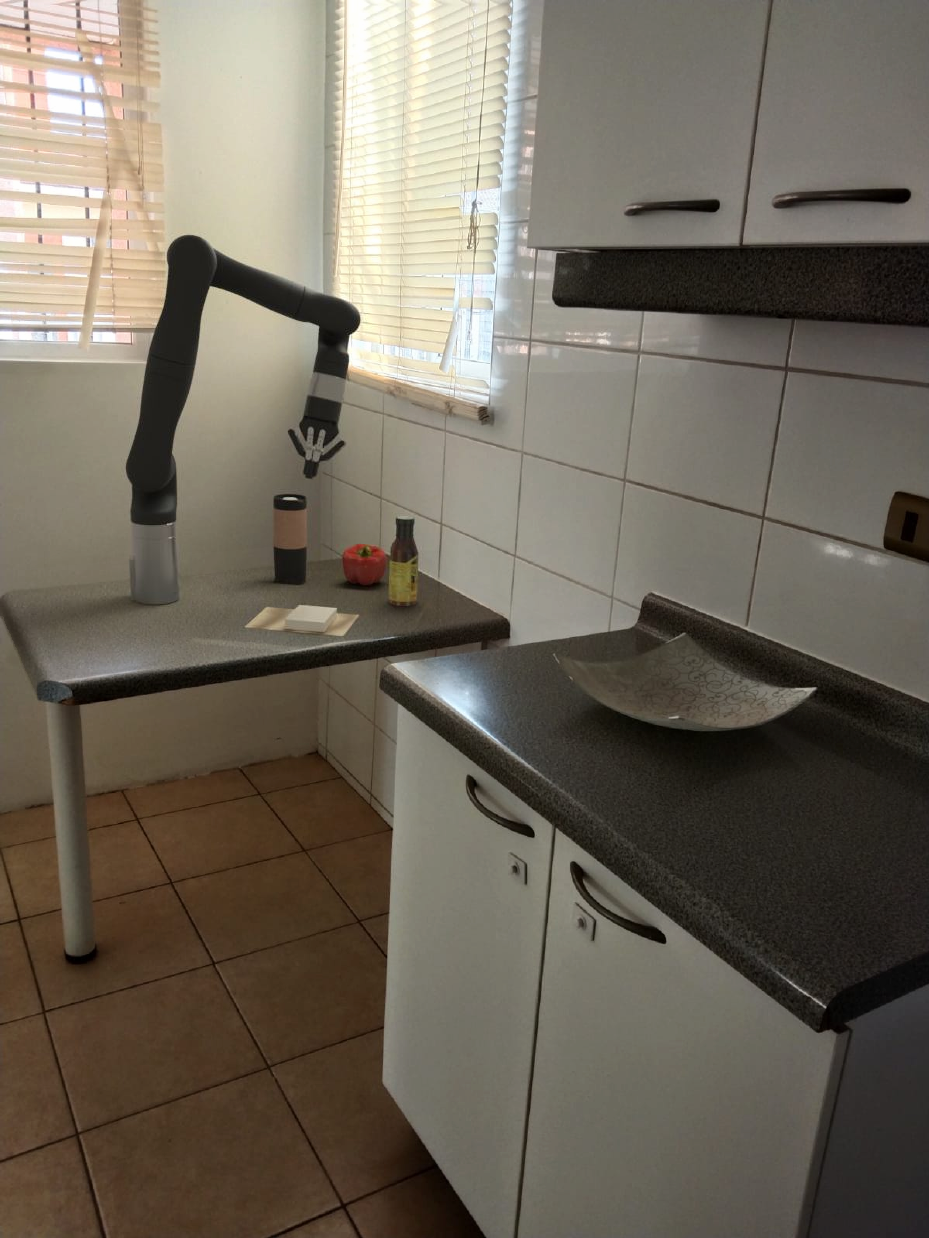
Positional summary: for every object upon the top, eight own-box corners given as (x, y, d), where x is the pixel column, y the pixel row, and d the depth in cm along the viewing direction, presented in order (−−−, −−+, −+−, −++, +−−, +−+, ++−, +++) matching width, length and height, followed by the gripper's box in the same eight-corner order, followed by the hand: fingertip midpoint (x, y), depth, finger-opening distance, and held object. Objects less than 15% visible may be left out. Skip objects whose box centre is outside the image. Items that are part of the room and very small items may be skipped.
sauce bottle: (416, 611, 218) (419, 521, 212) (387, 609, 217) (389, 520, 211) (417, 602, 224) (420, 515, 218) (389, 601, 224) (391, 513, 218)
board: (244, 631, 199) (244, 627, 199) (266, 611, 212) (266, 607, 212) (343, 640, 197) (343, 635, 196) (359, 619, 210) (359, 615, 210)
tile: (299, 614, 208) (284, 629, 199) (299, 604, 207) (284, 619, 198) (336, 617, 207) (324, 632, 198) (336, 608, 207) (324, 622, 197)
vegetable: (390, 589, 233) (391, 547, 229) (345, 591, 230) (346, 548, 227) (381, 577, 243) (382, 536, 239) (338, 578, 240) (339, 537, 237)
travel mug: (273, 576, 238) (272, 493, 232) (306, 576, 239) (306, 494, 233) (273, 585, 231) (273, 500, 225) (307, 585, 232) (307, 500, 226)
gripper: (290, 389, 208) (275, 471, 211) (352, 403, 208) (336, 485, 210) (298, 392, 216) (283, 472, 218) (358, 405, 215) (342, 485, 218)
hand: (309, 478), depth 214 cm, fingers closed
